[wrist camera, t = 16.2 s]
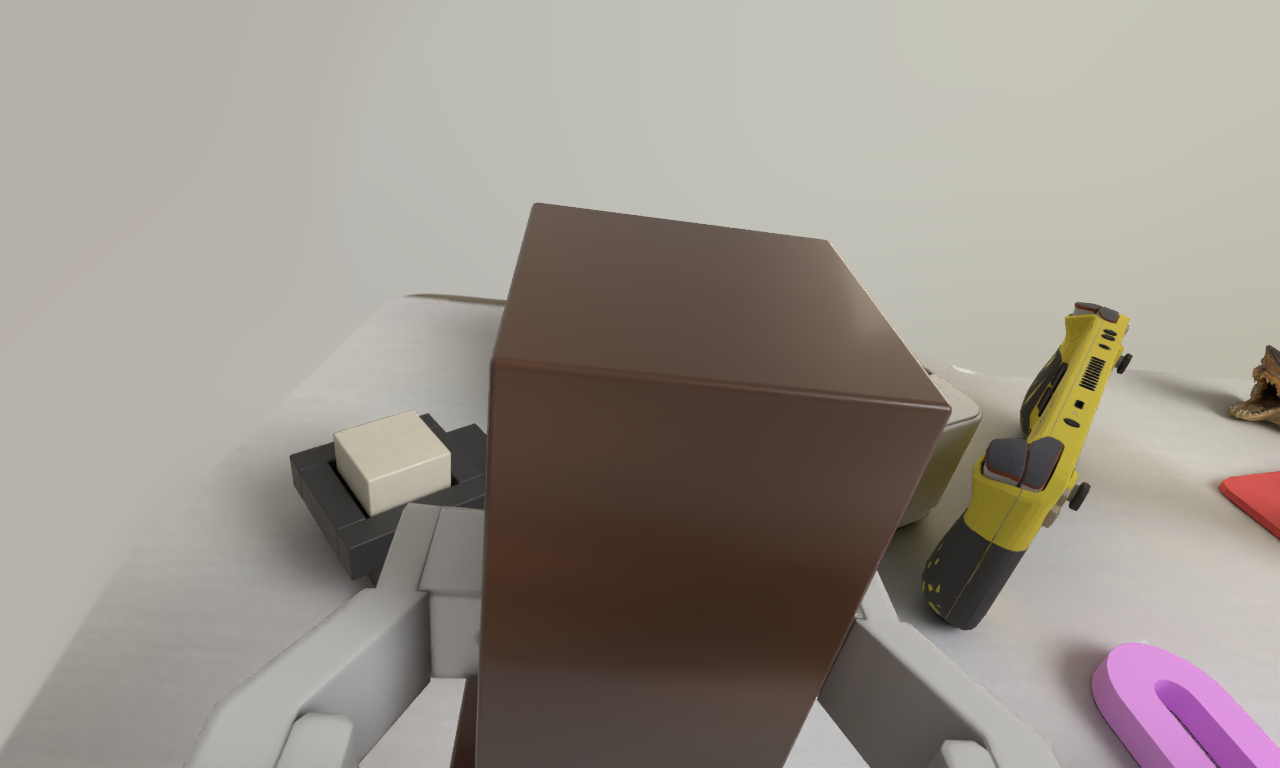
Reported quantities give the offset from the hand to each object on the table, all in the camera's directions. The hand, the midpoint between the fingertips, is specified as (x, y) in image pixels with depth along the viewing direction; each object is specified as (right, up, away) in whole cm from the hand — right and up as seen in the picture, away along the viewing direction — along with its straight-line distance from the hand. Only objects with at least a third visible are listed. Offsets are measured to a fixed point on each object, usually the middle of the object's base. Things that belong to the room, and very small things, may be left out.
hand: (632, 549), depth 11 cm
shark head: (+50, -1, +45) cm, 67 cm away
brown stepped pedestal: (-1, -5, +2) cm, 6 cm away
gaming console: (+22, -5, +30) cm, 37 cm away
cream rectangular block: (-11, -2, +20) cm, 22 cm away
